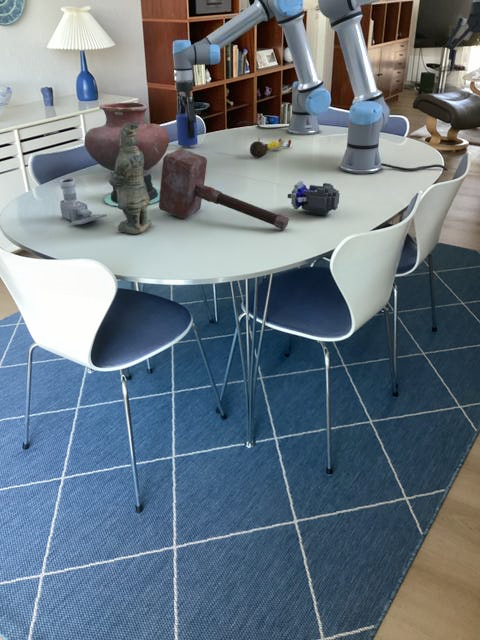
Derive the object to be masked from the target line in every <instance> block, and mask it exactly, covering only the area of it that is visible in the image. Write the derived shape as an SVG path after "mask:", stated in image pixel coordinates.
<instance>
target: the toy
mask: <svg viewBox="0 0 480 640" xmlns="http://www.w3.org/2000/svg"><path fill="white" fill-rule="evenodd" d="M293 187H294V188H293V189H292V191H291V193H288V194H287V199H291V200H290V201H291V202H290V203H291V206H292V207H293V210H298V209H299V208H301V210H303V211H306V212H307V214H310V215H311V214H312V215H318V216H326V215H328V213H330V212H331V211H336V210H337V209H338V205H339V204H340V194H341V193H340V190H338V189H337V188H335V187H334V184H332V183H328V182H324V183H322V185H315V184H310V185H309V186H308V187H309V188H308V187H307V185H306V184H305V183H304V181H301V180H299V181H298V182H296V183H295V184H294V186H293Z"/></svg>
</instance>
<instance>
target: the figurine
mask: <svg viewBox="0 0 480 640" xmlns="http://www.w3.org/2000/svg"><path fill="white" fill-rule="evenodd" d="M261 138H262V136H261V135H258V138H257V140H256V141H253V142H252V143H251V144H250V147H249V153H250V155H251V156H252V157H253V158H262V157H264V156H266V154H267V152H268V151H277V150H280V148H290V147H291V144H292V140H291V139H289V140H288V141H287V143H286V139H285V138H279V139H278V141H276V140H274V141H273V140H272V141H271V142H268V143H264V142H262V141H261Z"/></svg>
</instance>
